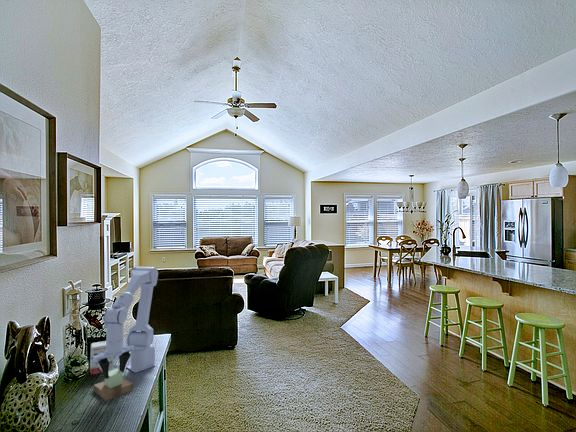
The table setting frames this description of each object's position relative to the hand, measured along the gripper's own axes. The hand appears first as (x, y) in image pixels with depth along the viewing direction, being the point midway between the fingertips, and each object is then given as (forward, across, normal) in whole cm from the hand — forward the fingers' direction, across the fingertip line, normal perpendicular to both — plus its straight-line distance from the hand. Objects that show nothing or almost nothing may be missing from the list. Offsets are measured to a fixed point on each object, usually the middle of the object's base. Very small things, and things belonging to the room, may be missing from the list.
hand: (113, 375), depth 128 cm
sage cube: (+3, 0, 0) cm, 4 cm away
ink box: (+6, +4, +20) cm, 21 cm away
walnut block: (+6, 0, 0) cm, 6 cm away
